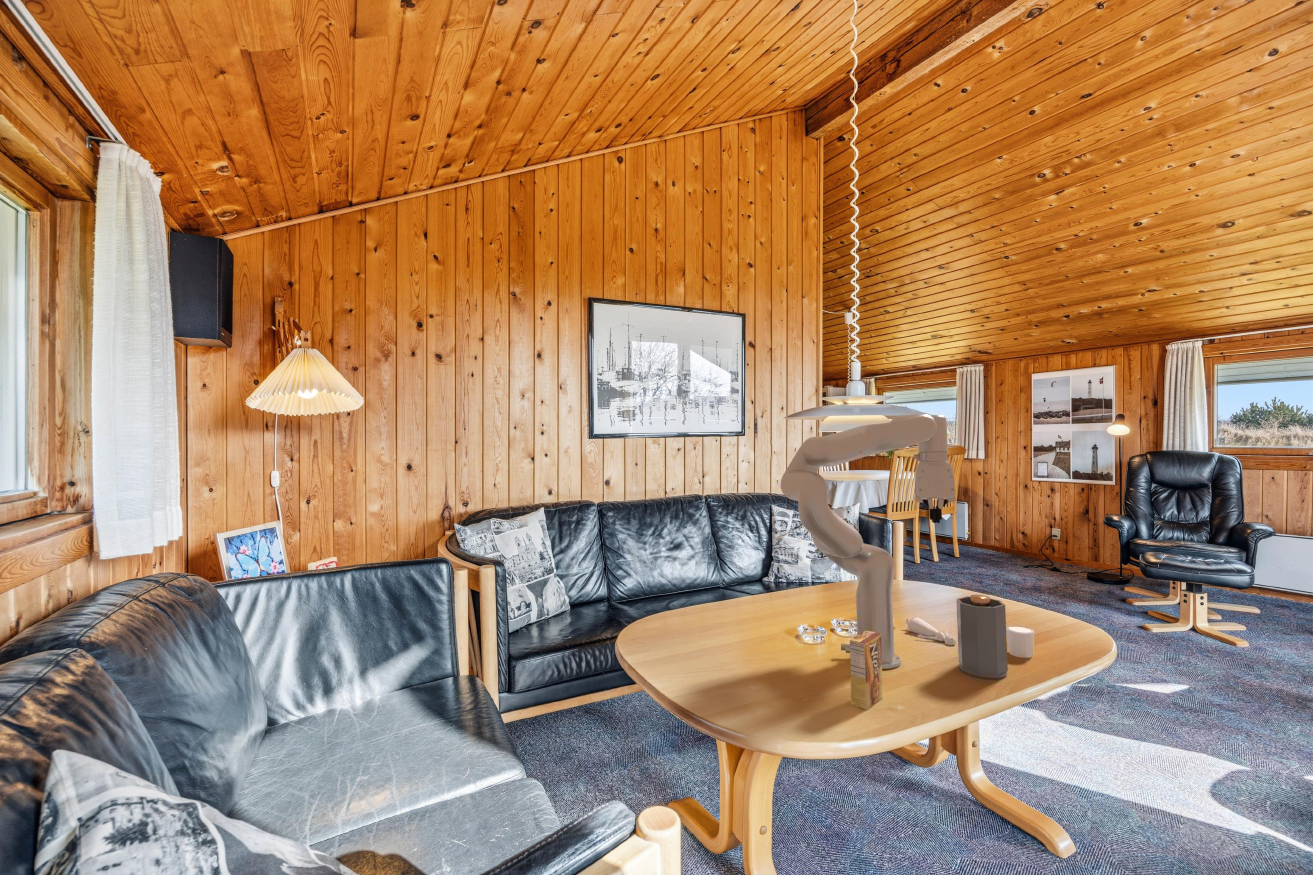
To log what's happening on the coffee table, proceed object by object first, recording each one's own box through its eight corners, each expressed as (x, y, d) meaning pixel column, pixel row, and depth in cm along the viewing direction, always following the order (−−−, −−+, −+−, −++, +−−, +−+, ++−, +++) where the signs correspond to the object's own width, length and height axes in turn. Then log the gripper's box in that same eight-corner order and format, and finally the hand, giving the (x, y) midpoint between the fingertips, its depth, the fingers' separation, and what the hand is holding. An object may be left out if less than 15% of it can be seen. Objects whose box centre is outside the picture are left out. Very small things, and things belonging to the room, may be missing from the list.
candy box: (866, 692, 142) (864, 629, 142) (884, 697, 139) (881, 632, 139) (850, 705, 135) (848, 639, 136) (868, 710, 132) (866, 642, 133)
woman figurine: (923, 612, 191) (970, 632, 174) (923, 626, 191) (969, 647, 174) (894, 617, 187) (939, 638, 170) (894, 631, 187) (939, 653, 170)
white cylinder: (1021, 660, 159) (1020, 634, 159) (1000, 651, 166) (999, 626, 166) (1041, 656, 161) (1040, 631, 161) (1020, 648, 168) (1019, 624, 168)
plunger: (968, 665, 150) (965, 600, 150) (961, 653, 158) (958, 591, 158) (1005, 667, 148) (1002, 601, 148) (996, 656, 156) (993, 593, 156)
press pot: (964, 677, 149) (962, 606, 149) (953, 657, 163) (950, 592, 163) (1012, 680, 146) (1009, 608, 146) (996, 660, 160) (994, 594, 160)
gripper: (906, 459, 166) (909, 524, 165) (965, 457, 162) (967, 524, 161) (903, 458, 173) (905, 520, 173) (959, 457, 169) (961, 520, 169)
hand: (935, 522), depth 167 cm, fingers closed
